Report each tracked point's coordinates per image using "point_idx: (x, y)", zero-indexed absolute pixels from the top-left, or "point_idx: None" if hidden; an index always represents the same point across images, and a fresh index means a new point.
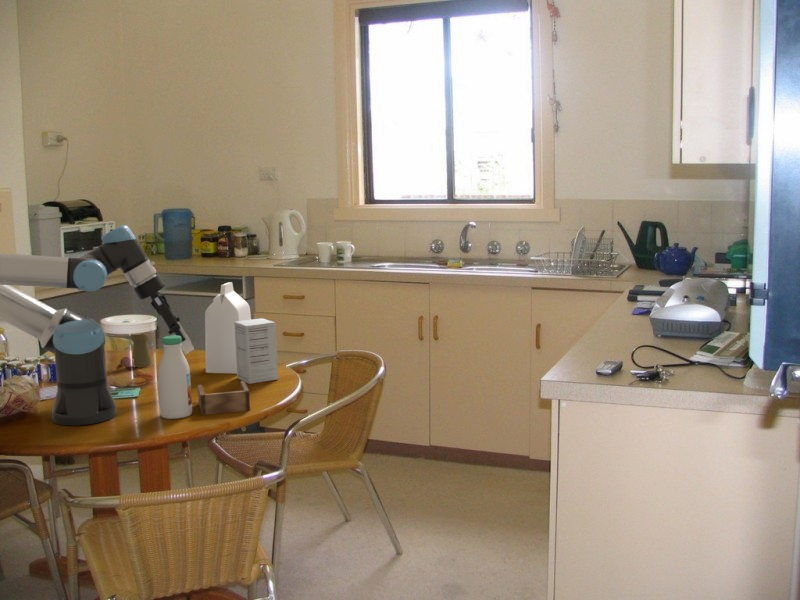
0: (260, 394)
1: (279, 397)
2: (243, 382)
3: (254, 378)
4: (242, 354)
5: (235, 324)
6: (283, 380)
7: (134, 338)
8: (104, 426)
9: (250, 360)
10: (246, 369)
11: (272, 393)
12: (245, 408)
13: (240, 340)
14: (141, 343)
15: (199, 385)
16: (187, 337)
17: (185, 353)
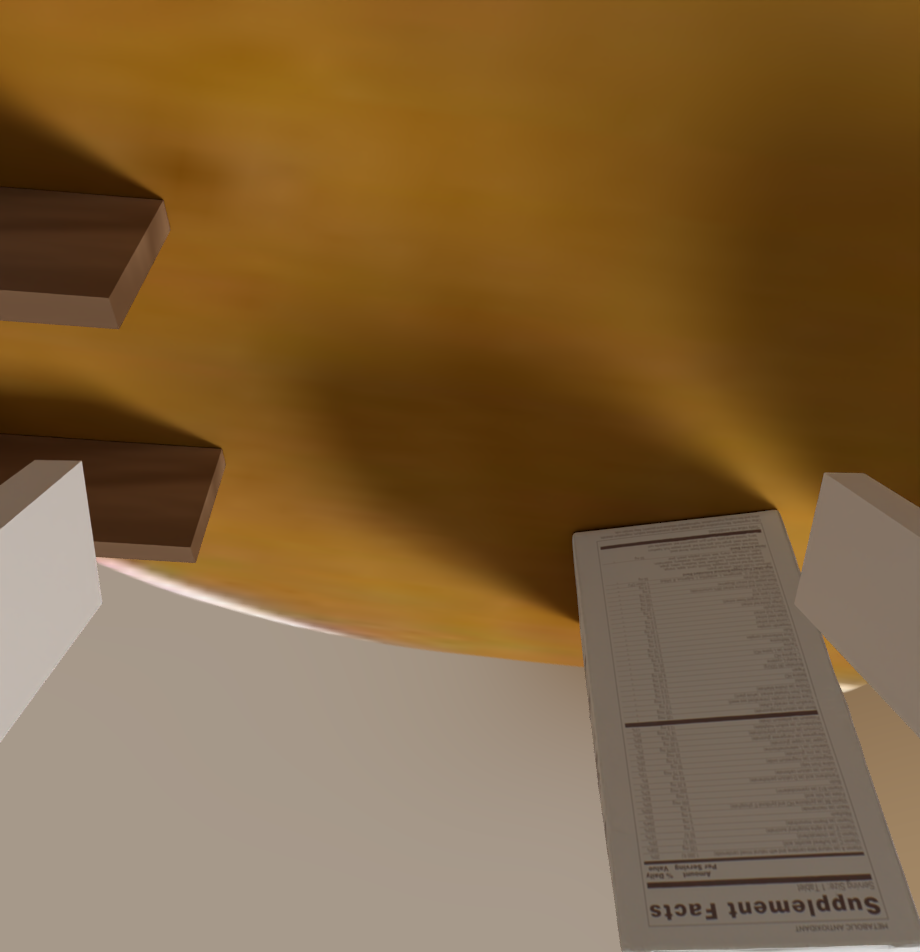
0: (317, 533)
1: (228, 579)
2: (147, 554)
3: (575, 576)
4: (696, 683)
5: (886, 921)
6: (560, 637)
7: None
8: None
9: (587, 673)
10: (615, 601)
11: (319, 572)
12: None
13: (744, 786)
14: None
15: (81, 308)
16: (845, 642)
17: (28, 472)
